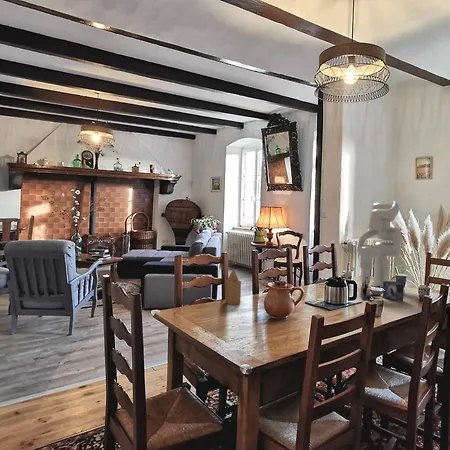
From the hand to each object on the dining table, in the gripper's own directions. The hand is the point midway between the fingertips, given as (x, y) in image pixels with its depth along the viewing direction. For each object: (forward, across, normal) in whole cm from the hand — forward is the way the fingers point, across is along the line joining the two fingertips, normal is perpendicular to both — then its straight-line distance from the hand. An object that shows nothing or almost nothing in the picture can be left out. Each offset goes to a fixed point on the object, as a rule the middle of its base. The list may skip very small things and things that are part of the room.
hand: (364, 292), depth 248 cm
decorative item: (+1, +49, -78) cm, 92 cm away
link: (+1, 0, 0) cm, 1 cm away
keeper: (+1, +14, 0) cm, 14 cm away
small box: (+1, +9, +15) cm, 18 cm away
